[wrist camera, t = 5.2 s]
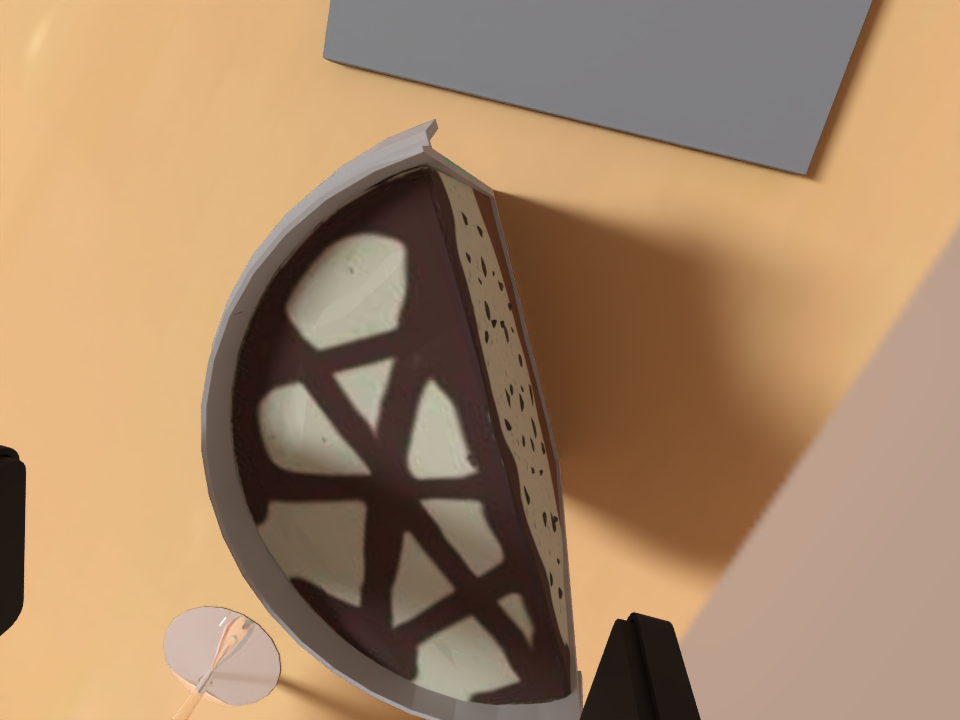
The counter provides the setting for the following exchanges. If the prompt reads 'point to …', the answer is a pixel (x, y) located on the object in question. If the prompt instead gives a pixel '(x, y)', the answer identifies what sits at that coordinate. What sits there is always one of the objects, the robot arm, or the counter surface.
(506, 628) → the food container
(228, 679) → the wineglass
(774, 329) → the counter surface
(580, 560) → the counter surface
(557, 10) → the mat
